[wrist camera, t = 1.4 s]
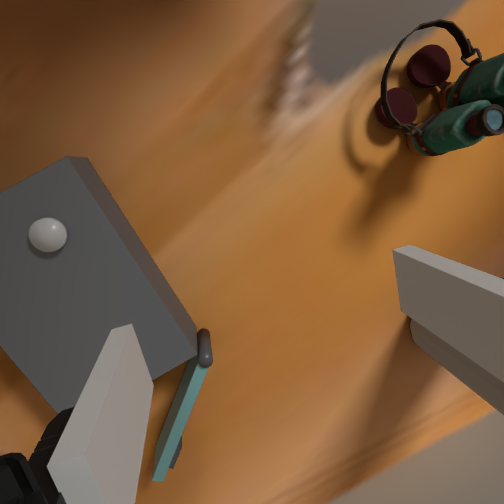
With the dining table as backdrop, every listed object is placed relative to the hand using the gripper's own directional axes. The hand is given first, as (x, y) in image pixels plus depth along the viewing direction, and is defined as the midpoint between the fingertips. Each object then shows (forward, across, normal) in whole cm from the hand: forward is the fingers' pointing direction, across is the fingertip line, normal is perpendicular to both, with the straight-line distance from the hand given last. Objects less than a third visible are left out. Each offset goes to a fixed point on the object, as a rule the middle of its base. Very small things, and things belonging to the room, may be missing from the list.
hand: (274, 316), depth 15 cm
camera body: (+21, -14, -2) cm, 25 cm away
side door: (+21, -8, -15) cm, 27 cm away
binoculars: (+21, +20, +7) cm, 30 cm away
